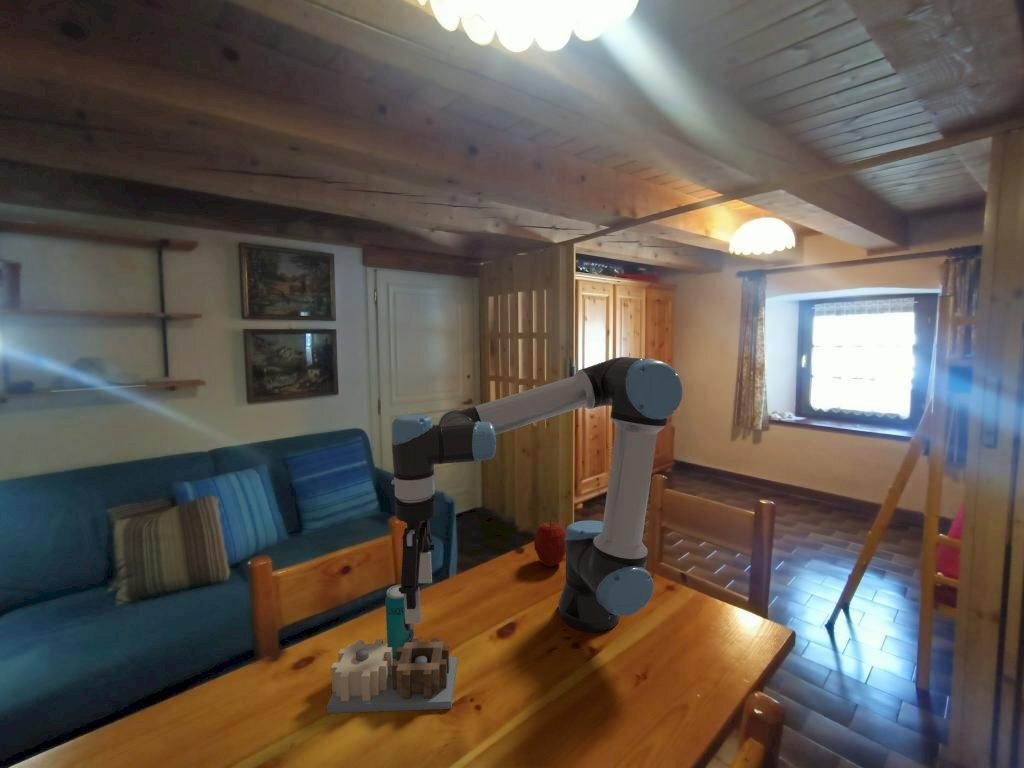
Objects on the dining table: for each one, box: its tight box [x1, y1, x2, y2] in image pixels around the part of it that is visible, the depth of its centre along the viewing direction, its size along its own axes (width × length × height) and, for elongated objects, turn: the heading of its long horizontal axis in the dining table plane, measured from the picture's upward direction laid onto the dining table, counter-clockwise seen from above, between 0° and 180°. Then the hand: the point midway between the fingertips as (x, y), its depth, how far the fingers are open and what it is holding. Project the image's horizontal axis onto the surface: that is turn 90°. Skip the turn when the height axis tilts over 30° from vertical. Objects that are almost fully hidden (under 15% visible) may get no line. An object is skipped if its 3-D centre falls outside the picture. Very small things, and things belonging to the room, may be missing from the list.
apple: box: [533, 520, 566, 568], centre depth 140 cm, size 10×10×14 cm
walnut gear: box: [392, 637, 450, 700], centre depth 92 cm, size 10×10×5 cm
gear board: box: [326, 639, 458, 714], centre depth 92 cm, size 23×12×8 cm, turn 91°
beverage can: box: [384, 583, 415, 659], centre depth 100 cm, size 6×6×15 cm
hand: (419, 600), depth 90 cm, fingers open, 13 cm apart
